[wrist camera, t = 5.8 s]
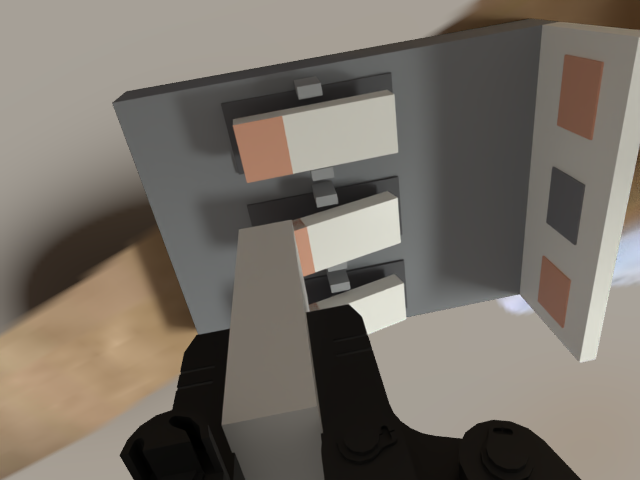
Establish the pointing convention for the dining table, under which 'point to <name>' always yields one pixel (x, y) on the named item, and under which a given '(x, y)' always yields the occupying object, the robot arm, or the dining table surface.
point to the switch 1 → (317, 135)
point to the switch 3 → (372, 302)
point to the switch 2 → (347, 232)
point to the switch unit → (420, 169)
